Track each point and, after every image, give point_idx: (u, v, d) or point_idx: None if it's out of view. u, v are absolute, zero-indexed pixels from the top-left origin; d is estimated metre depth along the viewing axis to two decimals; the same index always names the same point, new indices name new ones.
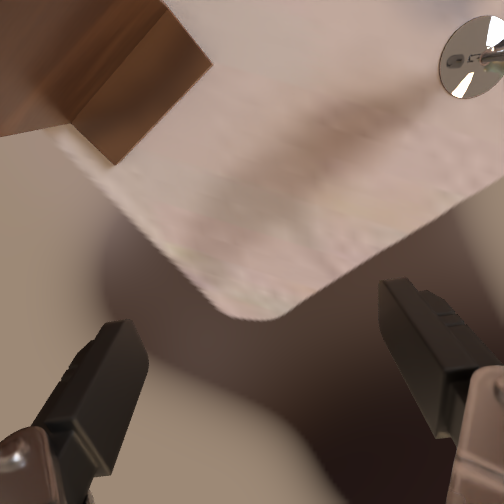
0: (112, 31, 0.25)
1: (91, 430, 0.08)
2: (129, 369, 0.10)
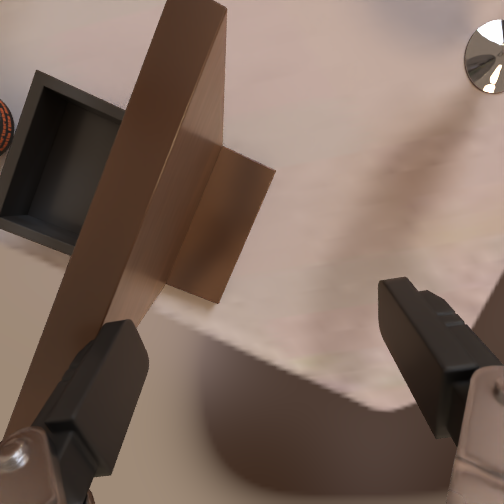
0: (203, 179, 0.25)
1: (91, 430, 0.08)
2: (129, 369, 0.10)
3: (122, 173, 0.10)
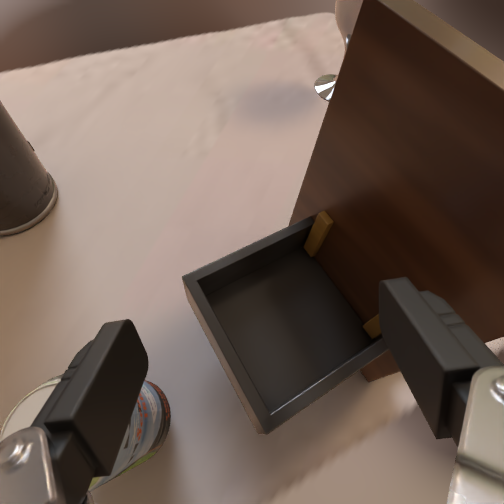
0: None
1: (90, 430, 0.08)
2: (128, 369, 0.10)
3: (469, 55, 0.12)
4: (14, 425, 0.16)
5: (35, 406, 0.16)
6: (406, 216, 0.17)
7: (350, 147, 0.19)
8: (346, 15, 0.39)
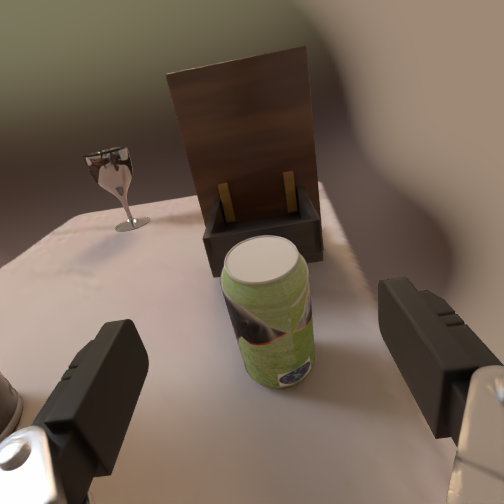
0: None
1: (91, 430, 0.08)
2: (129, 369, 0.10)
3: (216, 64, 0.34)
4: (240, 274, 0.20)
5: (235, 263, 0.21)
6: (249, 131, 0.37)
7: (204, 134, 0.37)
8: (109, 176, 0.60)
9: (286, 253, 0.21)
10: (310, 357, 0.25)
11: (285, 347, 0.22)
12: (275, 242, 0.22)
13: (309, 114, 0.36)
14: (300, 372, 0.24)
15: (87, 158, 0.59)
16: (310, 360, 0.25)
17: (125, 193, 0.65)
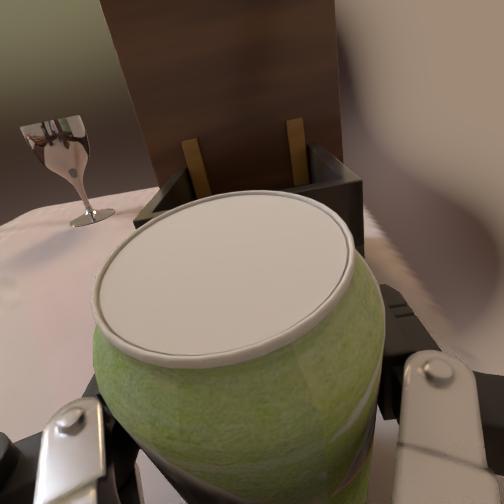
0: None
1: None
2: None
3: None
4: (135, 315, 0.05)
5: (135, 272, 0.06)
6: (230, 47, 0.22)
7: (155, 53, 0.22)
8: (54, 152, 0.45)
9: (308, 236, 0.06)
10: None
11: None
12: (271, 207, 0.07)
13: (330, 14, 0.21)
14: None
15: (23, 128, 0.44)
16: None
17: (80, 177, 0.50)
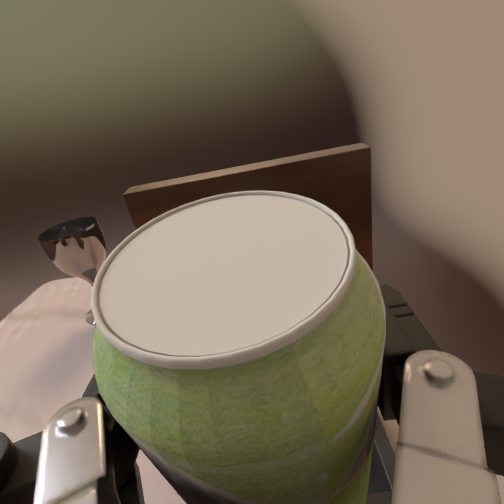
0: None
1: None
2: None
3: (210, 175, 0.20)
4: (134, 315, 0.05)
5: (135, 272, 0.06)
6: None
7: None
8: (72, 262, 0.45)
9: (308, 236, 0.06)
10: None
11: None
12: (271, 207, 0.07)
13: (367, 248, 0.22)
14: None
15: (42, 241, 0.44)
16: None
17: None
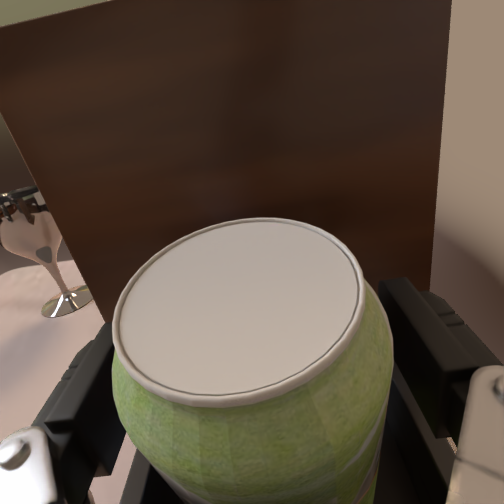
0: None
1: (91, 430, 0.08)
2: None
3: None
4: (155, 350, 0.05)
5: (153, 304, 0.06)
6: (249, 207, 0.13)
7: (120, 217, 0.13)
8: (16, 237, 0.36)
9: (319, 269, 0.06)
10: None
11: None
12: (282, 236, 0.07)
13: (431, 159, 0.12)
14: None
15: None
16: None
17: (53, 257, 0.41)
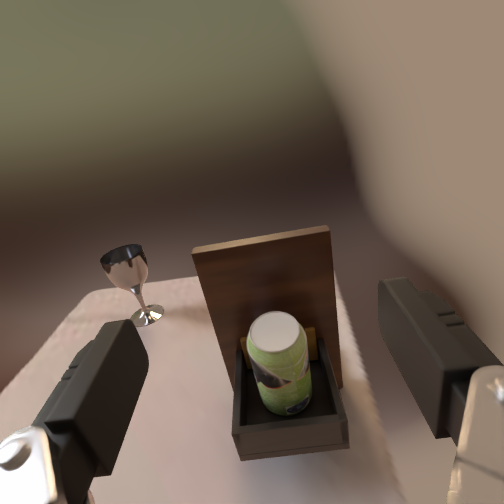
0: None
1: (91, 430, 0.08)
2: (129, 369, 0.10)
3: (241, 243, 0.35)
4: (261, 343, 0.30)
5: (257, 334, 0.31)
6: (272, 296, 0.38)
7: (228, 300, 0.38)
8: (125, 280, 0.61)
9: (291, 327, 0.31)
10: (308, 393, 0.35)
11: (291, 390, 0.32)
12: (283, 317, 0.32)
13: (331, 283, 0.37)
14: (301, 404, 0.35)
15: (104, 265, 0.59)
16: (308, 395, 0.35)
17: (140, 289, 0.65)
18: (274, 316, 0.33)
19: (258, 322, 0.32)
